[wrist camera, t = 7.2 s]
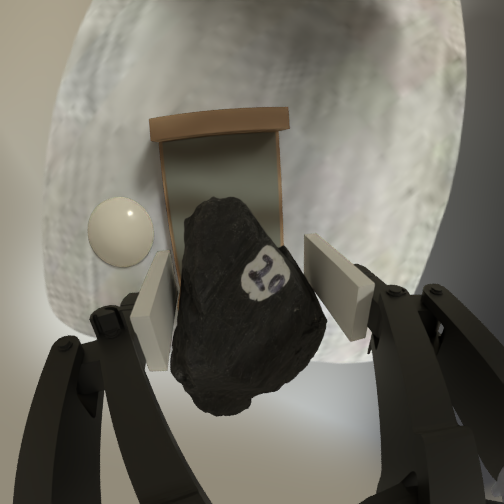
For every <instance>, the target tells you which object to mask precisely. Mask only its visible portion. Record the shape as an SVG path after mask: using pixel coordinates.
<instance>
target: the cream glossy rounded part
mask: <svg viewBox="0 0 504 504" xmlns="http://www.w3.org/2000/svg"><path fill="white" fill-rule="evenodd" d="M88 237H89V241H90V244H91V246H92V248H93V250H94V251H95V253H96V254H97V255H98V256H99V257H100V258H101V259H102V260H103V261H105V262H106V263H108V264H111V265H113V266H117V267H129V266H132V265H135V264H137V263H139V262H140V261H142V260H143V259H144V258H145V257H146V255H147V254H148V252H149V251H150V249H151V246H152V243H153V238H154V229H153V224H152V221H151V219H150V217H149V215H148V213H147V212H146V210H145V209H144V208H143V207H142V206H141V205H140V204H138V203H137V202H135V201H133V200H131V199H128V198H123V197H115V198H111V199H108V200H106V201H104V202H102V203H101V204H99V205H98V206H97V207H96V208H95V210H94V211H93V213H92V214H91V217H90V219H89V223H88Z"/></svg>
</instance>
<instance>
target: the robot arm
mask: <svg viewBox="0 0 504 504" xmlns="http://www.w3.org/2000/svg"><path fill="white" fill-rule="evenodd" d="M304 275H305V277H306V279H307V280H308V282H309V284H310V285H311V287H312V288H313V290H314V291H315V293H316V294H317V295H318V297H319V298H320V300H321V301H322V302H323V304H324V305H325V306H326V308H327V309H328V311H329V312H330V314H331V315H332V316H333V318H334V319H335V321H336V322H337V323H338V325H339V326H340V328H341V329H342V330H343V332H344V333H345V335H346V336H347V338H348V339H349V340H350V342H351V341H355V340H359V339H363V338H365V337H366V332H367V327H368V328H369V329H370V330H371V331H372V335H371V340H370V344H369V348H368V353H367V354H370V351H371V350H372V354H373V361H374V369H375V376H376V385H377V395H378V405H379V418H380V434H381V460H382V461H381V462H382V463H381V464H382V471H381V477H380V480H379V483H378V487H377V491H376V494H375V495H373V496H370V497H368V498H367V499H365V500H364V501H362V502H361V503H359V504H504V346H503V345H502V344H501V343H500V342H499V340H498V339H497V338H496V337H495V336H494V335H493V334H492V333H491V332H490V331H489V330H488V329H487V328H486V327H485V326H484V325H483V324H482V323H481V321H480V320H478V318H477V317H476V316H475V315H474V314H473V313H472V312H471V311H469V309H467V307H465V306H464V305H463V304H462V303H461V302H460V301H459V300H458V299H457V298H456V297H455V296H454V295H453V294H452V293H451V292H449V290H447V289H446V288H445V287H443V286H441V285H439V284H428V285H425V286H424V288H423V292H422V295H410V294H409V292H408V291H407V290H406V289H405V288H403V287H400V286H397V285H386V284H385V283H384V282H383V281H381V280H380V279H379V278H378V277H377V276H375V275H374V274H373V273H371V271H370V270H368V269H367V268H366V267H364V266H362V265H359V264H352V263H351V262H350V261H349V260H347V259H346V258H345V257H344V256H343V255H342V254H340V253H339V252H338V251H337V250H336V249H334V248H333V247H332V246H331V245H330V244H329V243H327V242H326V241H325V240H324V239H322V238H321V237H320V236H319V235H318V234H316V233H315V234H305V235H304ZM177 297H178V289H177V284H176V279H175V274H174V269H173V264H172V259H171V253H170V250H166V251H158V252H157V253H156V255H155V257H154V260H153V262H152V264H151V266H150V269H149V271H148V273H147V276H146V278H145V280H144V283H143V285H142V288H141V290H140V292H138V293H129V294H128V295H127V296H126V297H125V298H124V299H123V301H122V303H121V305H120V307H119V306H116V305H109V306H104V307H101V308H99V309H97V310H96V311H94V312H93V313H92V314H91V315H90V319H89V320H90V322H91V325H92V327H93V329H94V332H95V334H96V337H97V340H95V341H92V342H88V343H84V344H81V343H80V341H79V339H78V338H77V337H76V336H64V337H62V338H59V339H58V340H57V341H56V342H55V343H54V344H53V346H52V347H51V350H50V352H49V355H48V358H47V360H46V363H45V366H44V368H43V371H42V373H41V376H40V379H39V382H38V385H37V388H36V391H35V394H34V397H33V401H32V404H31V407H30V411H29V414H28V418H27V422H26V426H25V430H24V434H23V439H22V443H21V448H20V453H19V459H18V464H17V471H16V478H15V486H14V496H13V504H101V490H100V440H101V438H100V437H101V421H102V409H103V397H104V390H105V392H106V397H107V402H108V406H109V411H110V415H111V419H112V423H113V427H114V430H115V434H116V438H117V441H118V444H119V448H120V451H121V454H122V457H123V460H124V463H125V466H126V469H127V472H128V475H129V478H130V480H131V483H132V485H133V488H134V490H135V493H136V495H137V498H138V500H139V503H140V504H212V503H211V501H210V500H209V498H208V496H207V495H206V493H205V492H204V490H203V488H202V487H201V485H200V484H199V482H198V480H197V479H196V477H195V475H194V473H193V472H192V470H191V468H190V467H189V465H188V463H187V461H186V459H185V457H184V456H183V454H182V452H181V450H180V448H179V446H178V444H177V442H176V440H175V438H174V436H173V434H172V432H171V430H170V428H169V426H168V424H167V422H166V419H165V417H164V415H163V413H162V411H161V409H160V406H159V404H158V402H157V400H156V397H155V394H154V392H153V389H152V387H151V385H150V382H149V379H148V377H147V375H146V372H145V364H146V363H147V366H148V368H149V370H150V371H167V369H168V361H169V353H170V345H171V338H172V330H173V323H174V316H175V310H176V303H177ZM440 324H442V325H443V327H444V329H443V332H442V334H440V333H439V332H438V330H439V326H440ZM453 407H454V409H455V411H456V412H457V414H458V416H459V418H460V420H461V422H462V424H463V425H464V426H460V425H458V423H457V421H456V417H455V414H454V410H453ZM478 455H479V456H478ZM479 457H480V458H481V460H482V462H483V464H484V466H485V467H486V469H487V470H488V472H489V473H490V474H491V475H492V477H493V478H494V479H495V480H496V481H497V482H496V483H495V484H494V485H493V486H492V490H491V492H492V495H493V496H494V497H499V496H501V495H502V500H503V502H497V501H492V500H487V499H485V492H484V485H483V478H482V472H481V466H480V461H479Z"/></svg>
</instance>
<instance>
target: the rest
mask: <svg viewBox="0 0 504 504" xmlns="http://www.w3.org/2000/svg"><path fill="white" fill-rule="evenodd" d="M149 126H150V138H151V141H153V142H159V150H160V160H161V170H162V179H163V187H164V195H165V202H166V209H167V216H168V223H169V229H170V236H171V242H172V248H173V253H174V259H175V265H176V270H177V275H178V280H179V285H181V274H182V259H183V255H184V249H185V244H184V220H185V219H186V218H188V217H190V216H191V215H192V214H193V213H194V211H195V209H196V207H197V206H198V205H199V204H201V203H202V202H203V201H207V200H209V199H210V198H211V197H213V196H214V197H216V198H219V199H221V198H227V197H236V198H238V199H240V200H242V201H243V202H244V203H245V204H246V205H247V206H248V208H249V209H250V210H251V212H252V213H253V215H254V216H255V218H256V219H257V220H258V222H259V223H260V225H261V226H262V228H263V229H264V230H265V232H266V233H267V235H268V236H269V237H270V238H271V239H272V241H273V242H274V243H275V245H276V246H277V247H281V246H283V245H284V243H283V212H282V188H281V167H280V148H279V132H278V131H282V130H286V129H290V126H289V111H288V107H257V108H236V109H222V110H210V111H200V112H192V113H184V114H176V115H170V116H163V117H157V118H151V119H149ZM179 299H180V292H179V298H178V305H177V308H178V310H179Z"/></svg>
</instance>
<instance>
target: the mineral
mask: <svg viewBox="0 0 504 504" xmlns="http://www.w3.org/2000/svg"><path fill="white" fill-rule="evenodd" d="M184 244H185V249H184V255H183V259H182V274H181V285H180V299H179V310H178V316H177V327H176V329H175V331H174V336H173V341H172V348H173V351H172V353H171V360H170V368H171V369H170V370H171V373H172V375H173V376H174V377H175V378H176V380H177V381H178V382H179V383H181V384H182V385H183V387H184V390H185V391H186V392H187V393H188V394H189V395H190V396H191V397H192V400H193V402H194V403H195V405H196V406H197V407H198V408H199V409H200V410H202V411H203V412H205V413H207V412H208V413H210V414H212V415H214V416H222V415H224V416H231V415H236V414H238V413H240V412H242V411H243V410H245V409H248V408H249V406H250V404H251V398H253V397H254V396H257V395H259V394H263V393H269V392H275V391H277V390H279V389H280V388H281V386H283V385H284V384H285V383H288V382H290V381H291V380H293V379H294V378H295V377H296V376H297V375H298V374H299V372H301V371H302V370H303V369H304V368H305V367H306V366H307V365H308V363H309V362H310V360H311V359H312V358H313V357H314V355H315V353H316V352H317V350H318V348H319V346H320V343H321V341H322V339H323V337H324V333H325V330H326V323H327V319H326V317H325V315H324V313H323V311H322V308H321V306H320V303H319V301H318V299H317V297H316V294H315V292H314V290H313V288H312V287H311V285H310V284H309V282H308V280H307V279H306V277H305V275H304V274H303V273H302V271H301V269H300V268H299V266H298V264H297V263H296V261H295V260H294V259H293V257H292V255H291V254H290V252H289V251H288V249H287V248H286V247H285V246H284V245H283V246H281V247H277V246H276V245H275V243H274V242H273V241H272V239H271V238H270V237H269V236H268V235H267V233H266V232H265V230H264V229H263V228H262V226H261V225H260V223H259V222H258V220H257V219H256V218H255V216H254V215H253V213H252V212H251V210H250V209H249V208H248V206H247V205H246V204H245V203H244V202H243V201H242V200H240V199H238V198H236V197H227V198H221V199H219V198H216V197H214V196H213V197H211V198H210V199H209V200H207V201H203V202H202V203H201V204H199V205H198V206H197V207H196V209H195V211H194V213H193V214H192V215H191V216H190V217H188V218H186V219H185V220H184Z"/></svg>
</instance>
